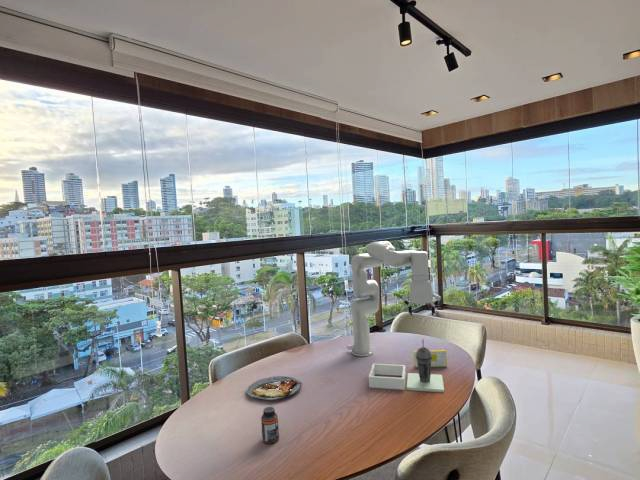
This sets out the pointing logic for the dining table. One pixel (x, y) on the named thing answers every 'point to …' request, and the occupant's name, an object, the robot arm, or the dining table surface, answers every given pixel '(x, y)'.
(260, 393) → the food plate
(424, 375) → the beverage cup
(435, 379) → the pad
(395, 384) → the bin
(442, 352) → the candy box
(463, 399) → the dining table surface
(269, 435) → the supplement bottle
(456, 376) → the dining table surface
